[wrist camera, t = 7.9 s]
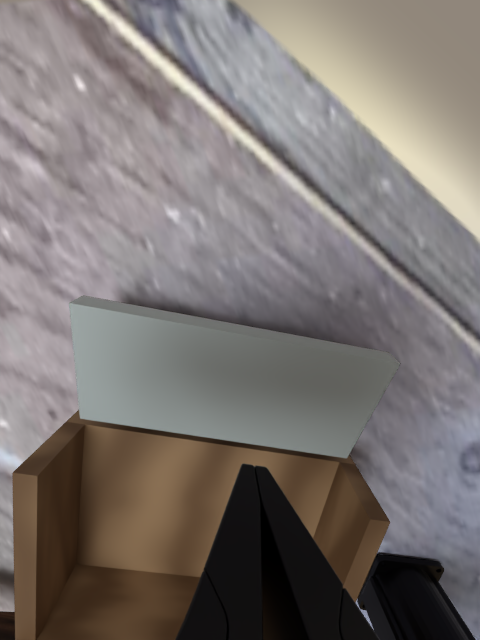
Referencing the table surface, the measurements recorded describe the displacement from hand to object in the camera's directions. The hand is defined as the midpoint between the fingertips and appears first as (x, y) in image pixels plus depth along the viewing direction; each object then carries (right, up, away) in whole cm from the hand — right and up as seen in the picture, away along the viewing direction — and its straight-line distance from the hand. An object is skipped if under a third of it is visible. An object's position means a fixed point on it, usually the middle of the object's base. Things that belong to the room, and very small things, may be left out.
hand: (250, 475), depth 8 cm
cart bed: (-3, -10, +12) cm, 16 cm away
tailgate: (-2, -3, +9) cm, 9 cm away
